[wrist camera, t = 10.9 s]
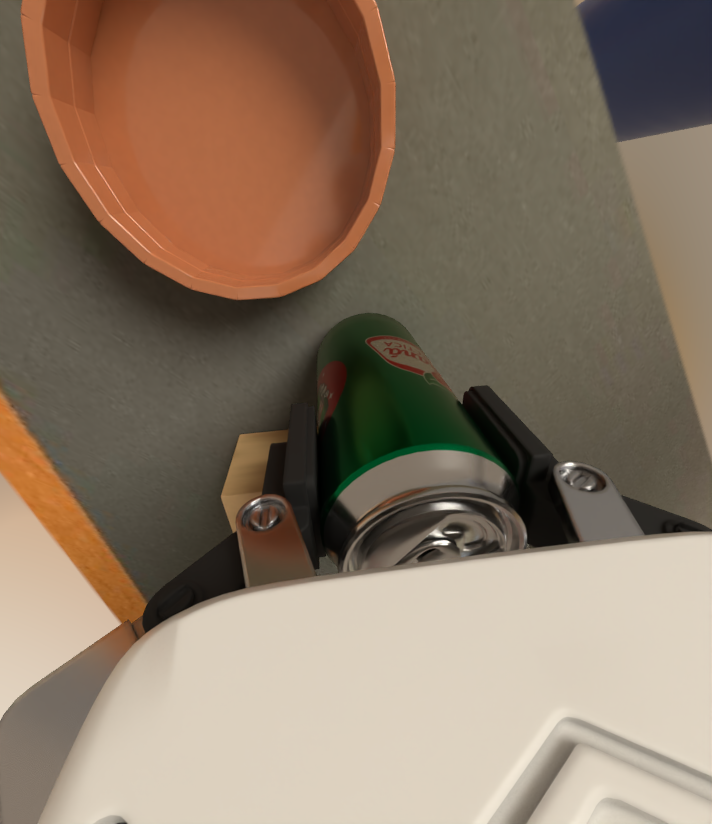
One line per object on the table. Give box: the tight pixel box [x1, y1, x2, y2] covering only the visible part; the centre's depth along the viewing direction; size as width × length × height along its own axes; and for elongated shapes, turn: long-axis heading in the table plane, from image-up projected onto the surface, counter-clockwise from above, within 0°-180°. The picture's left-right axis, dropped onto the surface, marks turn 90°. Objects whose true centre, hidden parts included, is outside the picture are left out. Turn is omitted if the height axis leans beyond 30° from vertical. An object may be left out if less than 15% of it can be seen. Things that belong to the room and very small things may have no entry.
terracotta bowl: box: [21, 0, 396, 300], centre depth 12 cm, size 11×11×3 cm
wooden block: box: [221, 427, 318, 533], centre depth 19 cm, size 6×4×5 cm, turn 93°
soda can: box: [317, 313, 527, 573], centre depth 13 cm, size 5×5×12 cm
